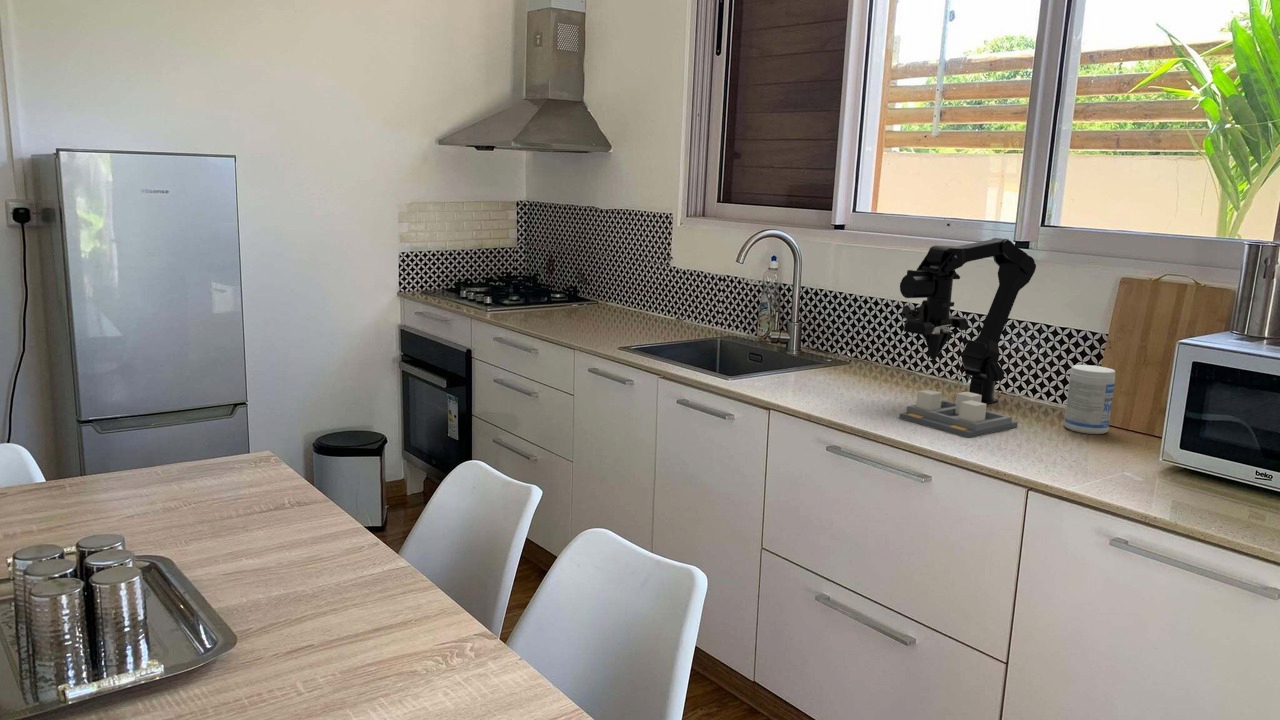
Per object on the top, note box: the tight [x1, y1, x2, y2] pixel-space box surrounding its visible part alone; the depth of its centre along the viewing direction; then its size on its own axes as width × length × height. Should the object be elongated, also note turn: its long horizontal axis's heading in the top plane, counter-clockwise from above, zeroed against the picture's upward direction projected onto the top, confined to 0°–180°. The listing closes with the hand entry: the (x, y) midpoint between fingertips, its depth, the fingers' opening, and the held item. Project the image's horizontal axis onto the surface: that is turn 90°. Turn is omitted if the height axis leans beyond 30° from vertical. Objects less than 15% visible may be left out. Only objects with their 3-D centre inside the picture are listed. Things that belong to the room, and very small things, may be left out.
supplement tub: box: [1063, 364, 1116, 435], centre depth 221 cm, size 10×10×15 cm
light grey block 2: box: [959, 400, 987, 423], centre depth 216 cm, size 4×4×5 cm
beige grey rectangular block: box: [915, 389, 943, 411], centre depth 226 cm, size 4×4×5 cm
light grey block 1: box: [955, 391, 982, 415], centre depth 225 cm, size 4×4×5 cm
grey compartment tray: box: [898, 399, 1018, 439], centre depth 224 cm, size 19×19×3 cm
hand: (933, 359), depth 238 cm, fingers closed
